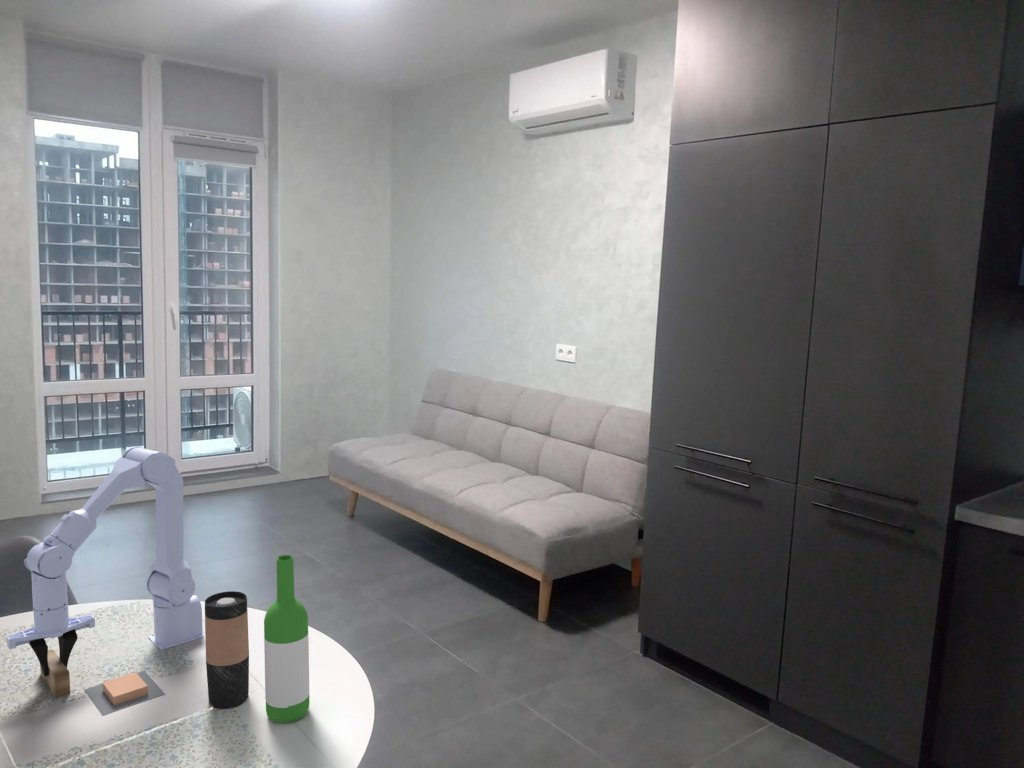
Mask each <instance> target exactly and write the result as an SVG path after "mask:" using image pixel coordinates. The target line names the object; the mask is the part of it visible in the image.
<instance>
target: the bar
mask: <svg viewBox="0 0 1024 768" xmlns="http://www.w3.org/2000/svg"><path fill="white" fill-rule="evenodd" d="M39 667H40V669H39V670H40V676H41V677H42V679H43V680H44V682H45V683H46V685H47V686H48V688H49V690H50V691H51V693H52V694H53V696H54V697H55V699H58V698H63V697H65V696H68V695H70V694H71V683H70V682H71V681H70V678H71V677H70V670H68V669H69V668H68V667H67V668H66V667H65V665H64V664H63V662H62V661H61V660H60V656H59V655H58V654H57V653H56V651H55V650H54V649H48V667H49V676H46V677H45V676H44V675H43V673H42V668H41V665H40V664H39Z"/></svg>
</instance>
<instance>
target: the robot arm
mask: <svg viewBox="0 0 1024 768" xmlns="http://www.w3.org/2000/svg"><path fill="white" fill-rule="evenodd" d="M146 483H147V484H148V485H150V486H151V487H152V488H154V490H155V554H156V555H155V556H156V557H155V559H154V560H153V562H152V563H150V565H149V574H148V576H147V578H146V581H145V586H146V587H145V588H146V590H147V592H148V593H149V595H152V605H153V627H154V632H153V633H154V634H151V635H149V636H148V639H149V640H150V642H152V643H153V645H155V647H156V648H157V649H159V650H165V649H168V648H172V647H175V646H179V645H182V644H186V643H189V642H192V641H196V640H198V639H203V638H205V634H203V633H204V632H203V607H202V603H201V600H200V598H199V597H198V595H196V594H194V593H195V591H196V583H195V580H194V578H193V576H192V569H191V567H190V565H189V564H188V563H187V561H186V559H185V558H184V478H183V476H182V474H181V473H180V471H179V469H178V468H177V465H176V459H175V458H174V457H172V456H170V455H168V454H167V453H166V452H162V451H156V450H154V449H153V450H152V449H147V448H144V447H141V446H131V447H130V448H128V449H126V450H125V451H124V452H123V454H122V456H121V457H119V458H118V459H117V460H115V463H114V465H113V468H112V470H111V471H110V473H108V475H107V476H106V477H105V479H104V480H103V481H102V483H101V484H100V485H99V486H98V488H97V489H96V490H95V491H94V493H92V495H91V496H90V498H88V500H87V501H86V502H85V504H84V505H83V506H82V508H80V509H76V510H75V509H74V510H71V511H70V512H68V514H66V513H65V514H63V516H62V517H61V518H60V523H59V524H58V525H56V527H55V528H54V529H53V531H52V532H51V533H49V535H48V536H45V537H44V538H43V539H42V542H40V543H39V544H35V545H34V546H33V547H31V548H30V550H29V551H28V552H27V554H26V556H27V557H26V558H25V559H23V563H24V567H26V569H27V570H29V571H30V576H31V592H32V596H31V598H32V610H33V611H32V613H33V627H29V628H27V629H24V630H21V631H19V632H17V633H13V634H10V635H7V636H6V644H7V645H6V646H7V649H9V650H12V649H16V648H17V647H18V646H23V645H26V644H29V646H30V648H31V649H32V651H33V652H34V653H35V656H36V658H37V659H38V663H39V666H40V665H41V668H42V673H43V675H44V676H45V677H46V676H49V667H48V651H49V646H48V644H47V641H46V639H50V638H51V639H54V638H57V639H58V648H59V650H58V651H59V658H60V660H61V661H62V662H63V664H64V665H65V667H66V668H67V669H68V663H69V660H70V656H71V653H72V651H73V648H74V646H75V644H76V643H77V641H78V634H77V631H79V630H83V629H88V628H89V629H92V628H94V627H96V620H95V619H96V618H95V617H94V615H93V614H89V615H84V616H78V617H70V616H69V615H70V614H69V602H68V601H69V600H68V582H67V571H68V570H69V569H70V568H71V566H72V562H73V557H74V555H75V553H76V552H77V550H78V549H80V547H81V546H82V545H83V544H84V543H85V541H87V539H88V538H89V537H90V535H92V534H93V533H94V532H95V530H96V529H97V520H98V518H99V517H100V516H101V515H102V513H104V512H105V511H106V510H107V509H108V508H109V507H110V506H111V505H112V504H113V503H114V502H115V501H116V500H117V498H118V497H119V496H121V495H122V494H123V492H124V491H126V490H127V489H131V488H135V487H140V486H145V485H147V484H146Z"/></svg>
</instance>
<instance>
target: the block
mask: <svg viewBox="0 0 1024 768" xmlns="http://www.w3.org/2000/svg"><path fill="white" fill-rule="evenodd" d="M137 673H138V672H136V671H134V672H132V673H128V674H125V675H122V676H119V677H118V676H117V677H116V678H113V679H109V680H106V681H103V682H102V683H101V684H102V686H103V691H104V693H105V694H106V695H107V697H108V698H109V699H110V701H111V702H112V703H113V704H114V705H117V704H120V703H123V702H126V701H129V700H132V699H135V698H138V697H141V696H144V695H147V694H148V686H147V684H146V683H145V682H144V681H143V680H142V679H141V678H140V677H139V675H138V674H137Z"/></svg>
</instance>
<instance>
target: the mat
mask: <svg viewBox="0 0 1024 768" xmlns="http://www.w3.org/2000/svg"><path fill="white" fill-rule="evenodd" d="M136 673H137V674H138V675H139V677H140V678H141V679H142V680H143V681H144V682H145V683H146V684H147V686H148V694H147V695H144V696H141V697H138V698H135V699H132V700H129V701H126V702H123V703H120V704H117V705H114V704H113V703H112V702H111V701H110V699H109V698H108V697H107V695H106V694H105V693H104V691H103V686H102V683H101V684H97V685H95V686H92V687H88V688H85V689H83V690H84V692H85V694H86V695H87V696H88V697H89V699H90V700H91V702H92V703H93V704H94V707H96V708H97V710H98V712H99V714H101V716H102V717H103V716H107V715H109V714H112V713H114V712H119V711H121V710H124V709H127V708H130V707H132V706H136V705H139V704H141V703H144V702H147V701H151V700H153V699H157V698H159V697H162V696H165V695H166V693H165V692H164V691H163V689H161V687H159V685H158V684H157V683H156V682H155V681H154V679H152V678H151V676H150V675H149V674H148V673H147V672H146V671H145V670H142V671H138V672H136Z"/></svg>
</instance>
